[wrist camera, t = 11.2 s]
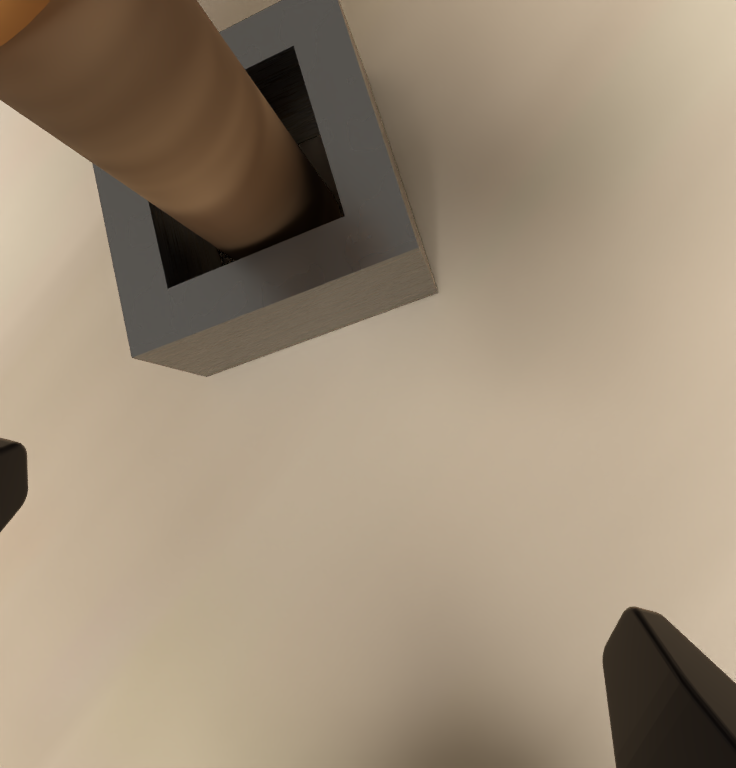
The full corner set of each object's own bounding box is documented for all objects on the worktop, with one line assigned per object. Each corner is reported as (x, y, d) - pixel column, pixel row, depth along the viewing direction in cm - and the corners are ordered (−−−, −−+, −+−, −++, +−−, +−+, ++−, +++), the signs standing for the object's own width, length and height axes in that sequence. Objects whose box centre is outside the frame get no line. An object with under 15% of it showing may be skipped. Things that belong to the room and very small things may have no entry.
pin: (363, 292, 18) (46, -46, 6) (222, 310, 20) (-288, 67, 7) (357, 145, 19) (60, -443, 6) (220, 172, 20) (-245, -271, 8)
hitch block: (438, 292, 18) (418, 247, 14) (206, 376, 19) (131, 357, 15) (365, 71, 19) (329, -25, 15) (158, 167, 21) (80, 103, 17)
